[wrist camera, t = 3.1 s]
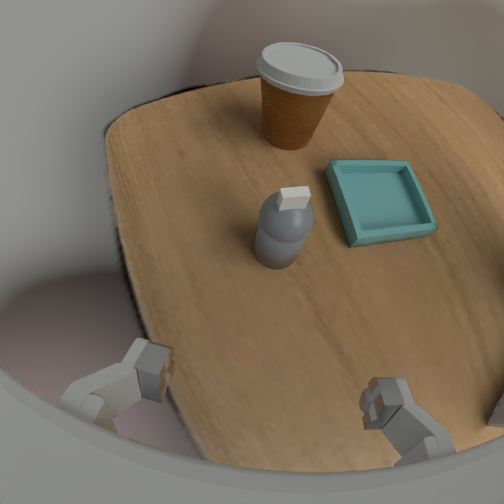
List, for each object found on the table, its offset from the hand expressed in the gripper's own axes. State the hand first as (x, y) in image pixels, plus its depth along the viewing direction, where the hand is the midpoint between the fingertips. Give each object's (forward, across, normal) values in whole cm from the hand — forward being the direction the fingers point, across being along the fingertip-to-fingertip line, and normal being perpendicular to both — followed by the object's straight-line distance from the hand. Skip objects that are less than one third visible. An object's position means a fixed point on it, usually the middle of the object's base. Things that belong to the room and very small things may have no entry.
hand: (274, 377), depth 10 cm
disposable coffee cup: (+31, -1, +10) cm, 32 cm away
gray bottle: (+19, 0, -2) cm, 19 cm away
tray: (+25, +12, +4) cm, 28 cm away
